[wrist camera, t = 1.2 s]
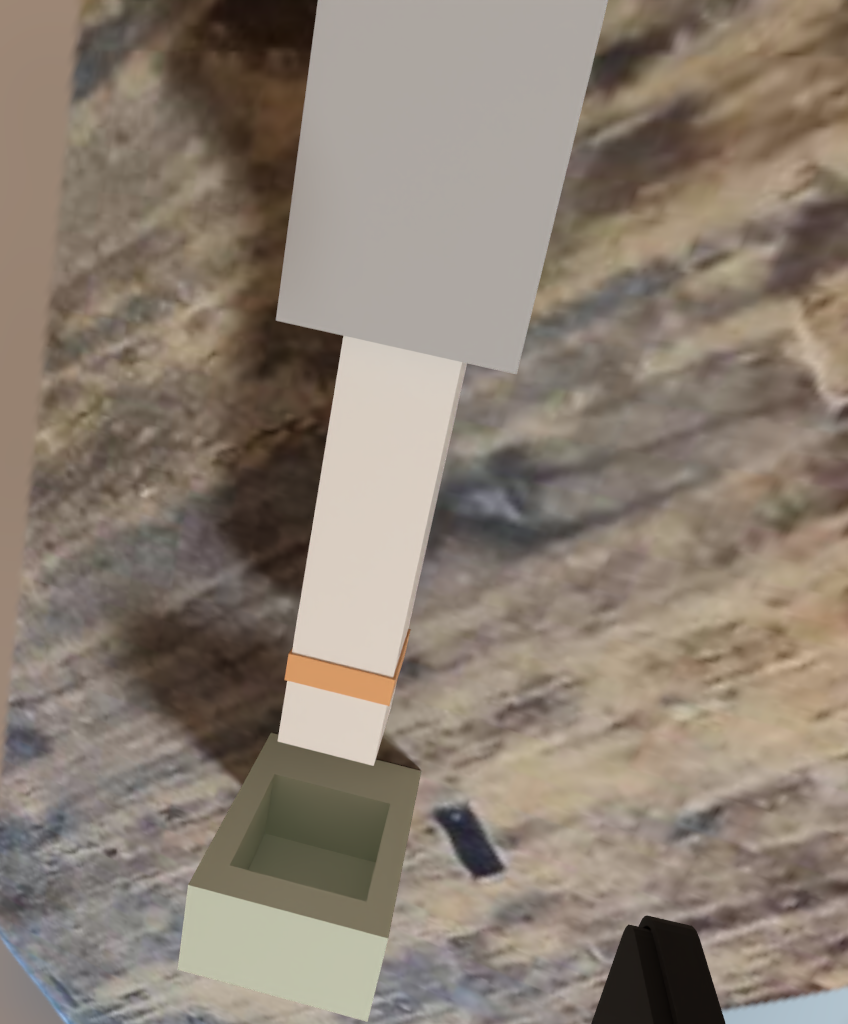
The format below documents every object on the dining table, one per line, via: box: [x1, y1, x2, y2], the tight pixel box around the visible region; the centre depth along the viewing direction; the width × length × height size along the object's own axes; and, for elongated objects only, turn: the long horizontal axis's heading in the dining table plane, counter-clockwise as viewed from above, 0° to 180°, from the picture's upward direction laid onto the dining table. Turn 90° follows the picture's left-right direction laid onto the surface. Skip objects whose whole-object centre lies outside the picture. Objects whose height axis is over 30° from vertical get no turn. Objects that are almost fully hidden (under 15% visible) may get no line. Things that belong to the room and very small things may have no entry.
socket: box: [178, 733, 421, 1021], centre depth 29 cm, size 4×7×9 cm, turn 79°
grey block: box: [276, 0, 608, 374], centre depth 21 cm, size 10×6×8 cm, turn 168°
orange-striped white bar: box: [278, 336, 467, 766], centre depth 22 cm, size 24×4×4 cm, turn 168°
